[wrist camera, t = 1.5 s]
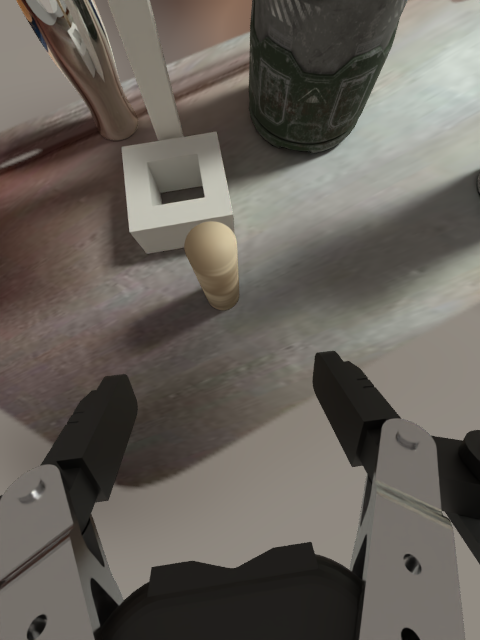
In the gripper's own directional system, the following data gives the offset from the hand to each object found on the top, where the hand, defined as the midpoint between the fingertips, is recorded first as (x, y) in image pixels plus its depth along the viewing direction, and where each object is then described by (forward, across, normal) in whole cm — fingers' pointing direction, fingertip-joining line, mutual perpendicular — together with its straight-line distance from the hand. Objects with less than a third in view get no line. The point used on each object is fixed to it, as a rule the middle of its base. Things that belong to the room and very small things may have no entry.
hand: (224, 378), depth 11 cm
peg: (+20, 0, +4) cm, 21 cm away
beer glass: (+39, +12, -16) cm, 44 cm away
